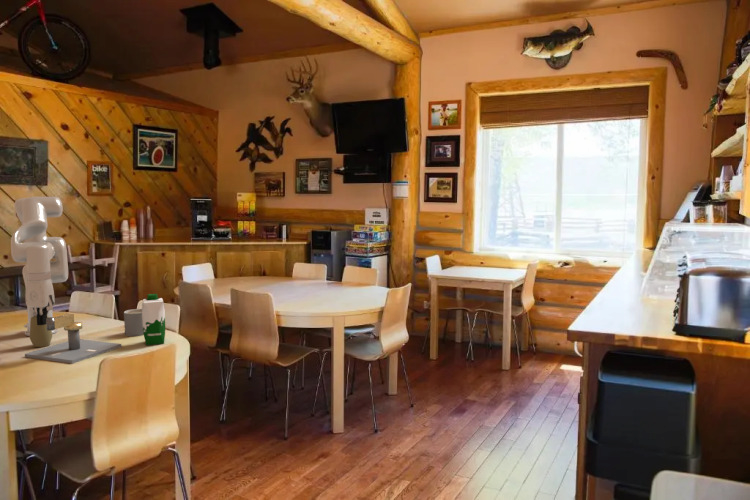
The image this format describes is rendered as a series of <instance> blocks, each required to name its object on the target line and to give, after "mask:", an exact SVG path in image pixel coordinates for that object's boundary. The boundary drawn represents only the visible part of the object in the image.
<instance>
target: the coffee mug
mask: <svg viewBox="0 0 750 500" xmlns="http://www.w3.org/2000/svg"><path fill="white" fill-rule="evenodd" d="M123 319H124V320H123V322H124V335H125V336H126V335H127V337H140V336H144V334H143V321H142V308H134V309H127V310H125V311H124V312H123Z"/></svg>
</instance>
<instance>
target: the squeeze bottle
mask: <svg viewBox="0 0 750 500" xmlns="http://www.w3.org/2000/svg"><path fill="white" fill-rule="evenodd" d="M47 318H49V316H47ZM52 338H53V334H52V331H51V330H47V326H46V324H45V325H37V316H36V314H35V311H34V312H33V317H32V318H31V322H30V336H29V340H30V342H31V345H32V346H33V348H42V347H43V348H45V347H49V346H51V345H50V344H51V342H52Z"/></svg>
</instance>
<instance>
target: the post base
mask: <svg viewBox="0 0 750 500" xmlns="http://www.w3.org/2000/svg"><path fill="white" fill-rule="evenodd" d="M67 339H68V340H67V341H64V342H61V343H57V344H53V345H49V346H45V347H43V348H40V349H36V350H33V351H30V352H27V353H24V358H31V359H37V360H43V361H44V360H45V361H51V362H59V363H64V364H65V363H66V364H75V363H79V362H81V361H84V360H88V359H90V358H93V357H95V356H96V357H97V356H98V355H99V356H100V355H102V354H105V353H108V352H111V351H113V349H114V350H117V349H119V347H120V348H122V345H123V344H122V343H118V342H117V343H116V342H109V341H100V340H92V339H82V338H80V329H79V330H73V331H67ZM116 348H117V349H116ZM110 350H111V351H110ZM107 351H108V352H107Z"/></svg>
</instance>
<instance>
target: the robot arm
mask: <svg viewBox="0 0 750 500" xmlns="http://www.w3.org/2000/svg"><path fill="white" fill-rule="evenodd" d="M14 210H15V213H16V215H17V218H18V219H19V220H18V221H20V223H21V225H20V226H18V228H17V229H16V230H14V232H13V234H12V235H11V238H10V253H11V259H12V260H13V261H14V262H16V263H26V264H25V265H24V266H23V268H22V277H23V282H24V286H25V306H26V307H27V322H26V324H24V325H23V328H26V329H27V330H26V331H24V336H27V337H30V322H31V318H32V317H33V312H34V311H35V314H36V316H37V325H45V324H46V318H47V316H49V317H54V314H53V310H54V305H55V291H54V286H53V284H54V283H55V284H58V283H65V282H67V280H68V278H69V265H68V251H67V243H66V241H65V239H64V238H63V237H60V236H48V235H47V229H48V225H49V224H48V218H60V217H61V216H62V215H63V211H64V207H63V203H62V200H61V199H60V197H58V196H30V197H23V198H22V197H21V198H17V199H16V200H15V201H14ZM52 259H54V260H55V261H51V260H52ZM51 331H52V335H53V334H56V333H57V332H58V329H55V330H51Z"/></svg>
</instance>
